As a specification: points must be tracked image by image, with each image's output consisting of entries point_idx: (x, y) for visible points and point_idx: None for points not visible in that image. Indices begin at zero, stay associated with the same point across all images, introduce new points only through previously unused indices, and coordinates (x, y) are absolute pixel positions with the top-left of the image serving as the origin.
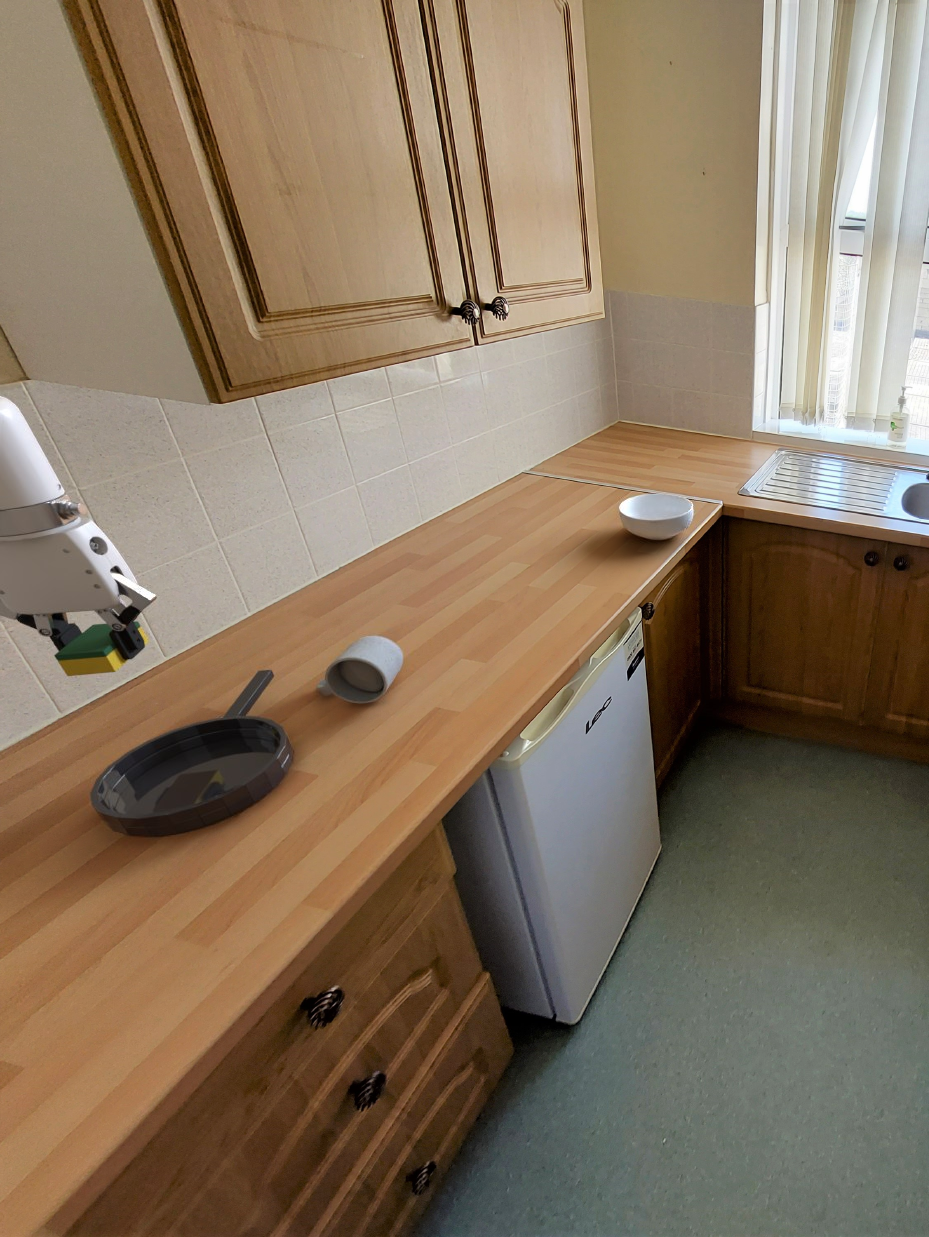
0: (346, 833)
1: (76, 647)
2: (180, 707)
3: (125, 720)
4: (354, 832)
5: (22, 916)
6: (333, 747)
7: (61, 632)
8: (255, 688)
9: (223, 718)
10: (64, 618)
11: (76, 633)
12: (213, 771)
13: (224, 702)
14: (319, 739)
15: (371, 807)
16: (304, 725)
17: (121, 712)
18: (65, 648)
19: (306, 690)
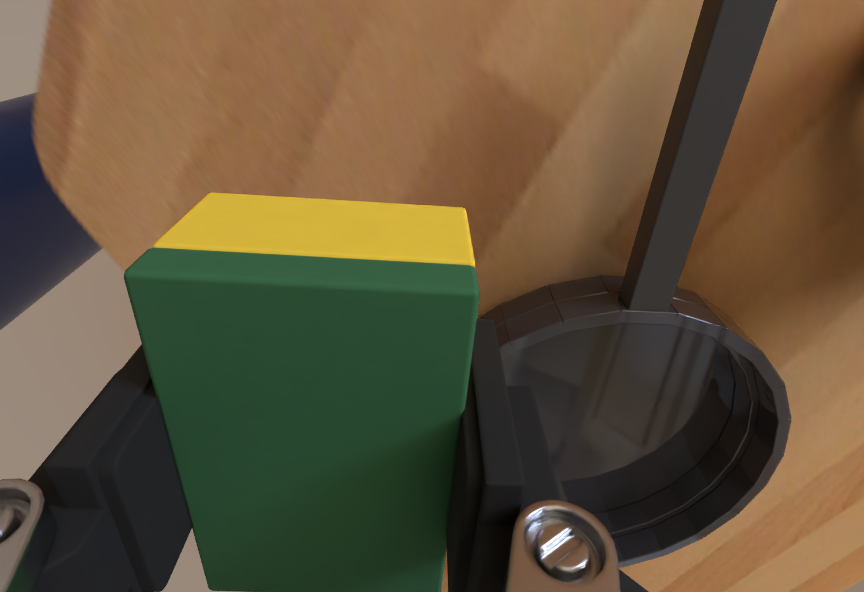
0: (805, 555)
1: (271, 551)
2: (404, 44)
3: (262, 88)
4: (817, 555)
5: None
6: (829, 359)
7: (127, 580)
8: (717, 153)
9: (635, 317)
10: (28, 580)
11: (157, 457)
12: (594, 401)
13: (541, 48)
14: (805, 323)
15: (854, 520)
16: (778, 254)
17: (216, 24)
18: (215, 550)
19: (808, 34)
